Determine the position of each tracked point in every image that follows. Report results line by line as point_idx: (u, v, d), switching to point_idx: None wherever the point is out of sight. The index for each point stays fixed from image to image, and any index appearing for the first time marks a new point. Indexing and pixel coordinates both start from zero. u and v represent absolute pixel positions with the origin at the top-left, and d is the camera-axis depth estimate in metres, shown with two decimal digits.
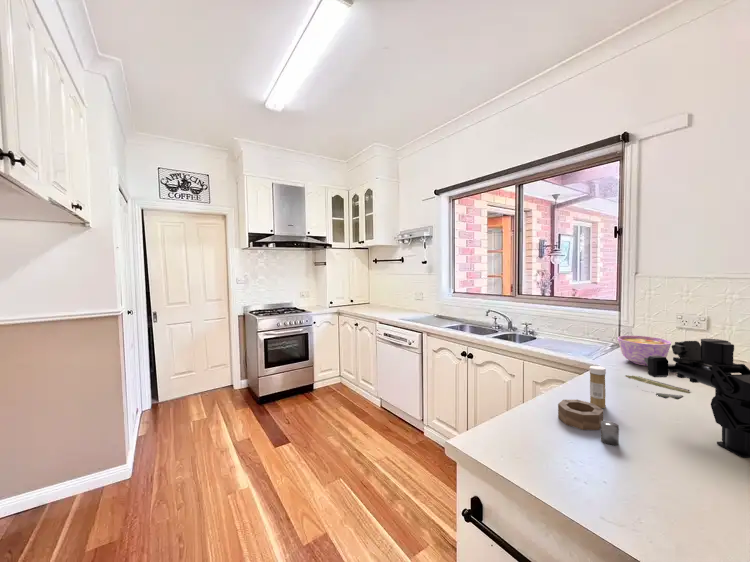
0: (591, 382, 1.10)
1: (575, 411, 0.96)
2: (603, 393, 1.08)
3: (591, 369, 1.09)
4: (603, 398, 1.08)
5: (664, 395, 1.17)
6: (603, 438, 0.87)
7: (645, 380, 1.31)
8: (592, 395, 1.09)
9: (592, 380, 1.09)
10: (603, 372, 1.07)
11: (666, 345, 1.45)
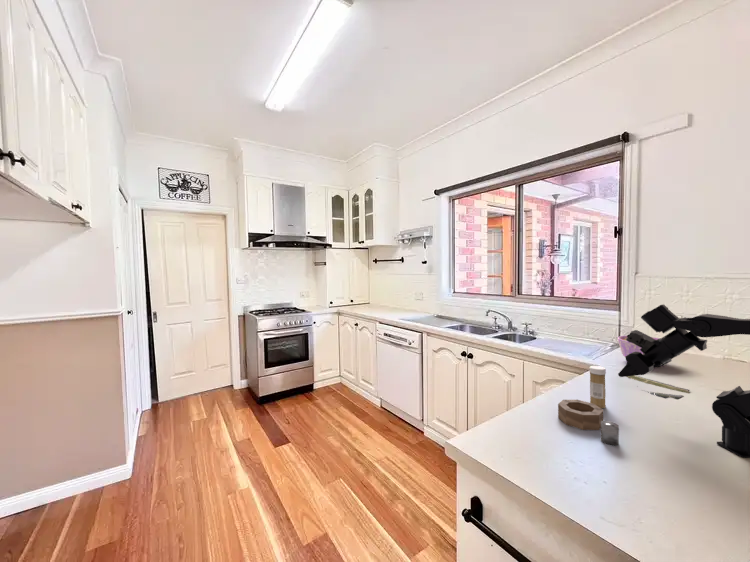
0: (591, 382, 1.10)
1: (575, 411, 0.96)
2: (603, 393, 1.08)
3: (591, 369, 1.09)
4: (603, 398, 1.08)
5: (664, 395, 1.17)
6: (603, 438, 0.87)
7: (645, 380, 1.31)
8: (592, 395, 1.09)
9: (592, 380, 1.09)
10: (603, 372, 1.07)
11: None
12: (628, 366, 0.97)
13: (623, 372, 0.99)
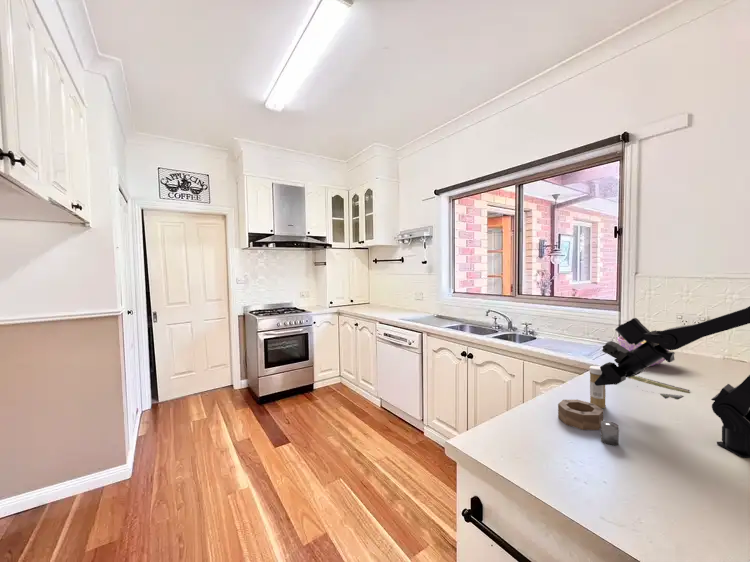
0: (591, 382, 1.10)
1: (575, 411, 0.96)
2: (603, 393, 1.08)
3: (591, 369, 1.09)
4: (603, 398, 1.08)
5: (664, 395, 1.17)
6: (603, 438, 0.87)
7: (645, 380, 1.31)
8: (592, 395, 1.09)
9: (592, 380, 1.09)
10: None
11: None
12: (603, 376, 1.03)
13: (599, 381, 1.04)
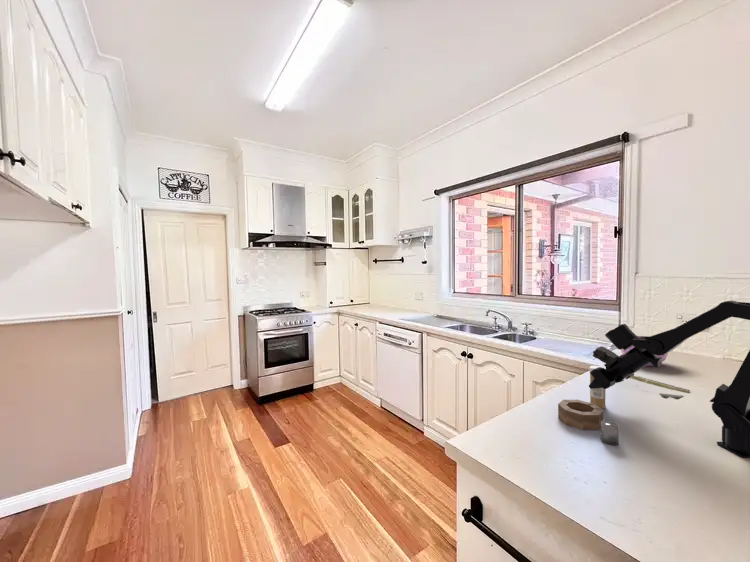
0: None
1: (575, 411, 0.96)
2: (603, 393, 1.08)
3: (591, 369, 1.09)
4: (603, 398, 1.08)
5: (664, 395, 1.17)
6: (603, 438, 0.87)
7: (645, 380, 1.31)
8: (592, 395, 1.09)
9: (592, 380, 1.09)
10: None
11: None
12: None
13: (592, 384, 1.08)
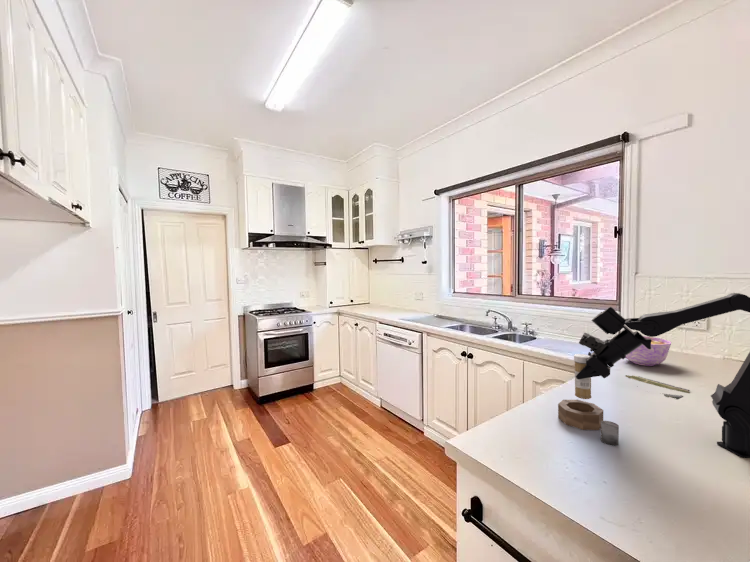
0: (578, 372, 1.02)
1: (575, 411, 0.96)
2: (590, 382, 1.01)
3: (578, 358, 1.01)
4: (590, 388, 1.01)
5: (664, 395, 1.17)
6: (603, 438, 0.87)
7: (645, 380, 1.31)
8: (579, 386, 1.01)
9: (579, 370, 1.01)
10: None
11: (666, 345, 1.45)
12: (587, 368, 0.98)
13: (581, 374, 1.00)
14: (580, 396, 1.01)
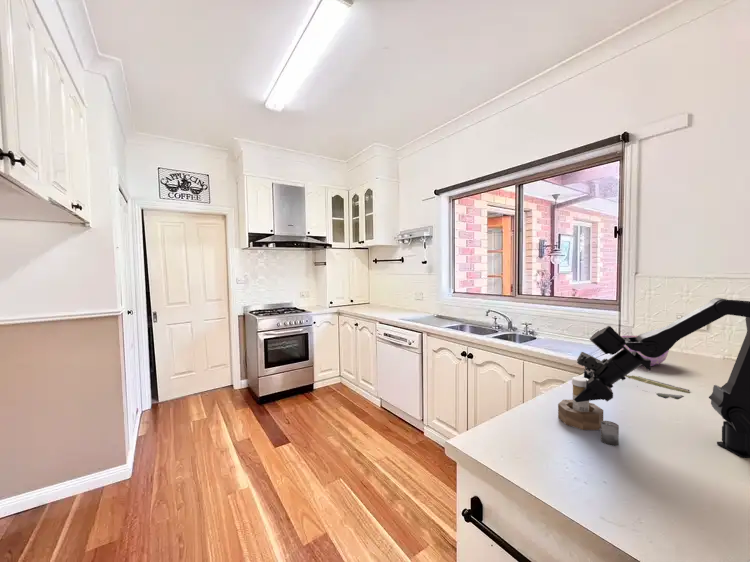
0: None
1: (575, 411, 0.96)
2: (588, 406, 0.98)
3: (577, 382, 0.98)
4: None
5: (664, 395, 1.17)
6: (603, 438, 0.87)
7: (645, 380, 1.31)
8: None
9: None
10: None
11: None
12: (586, 391, 0.94)
13: (580, 397, 0.95)
14: None
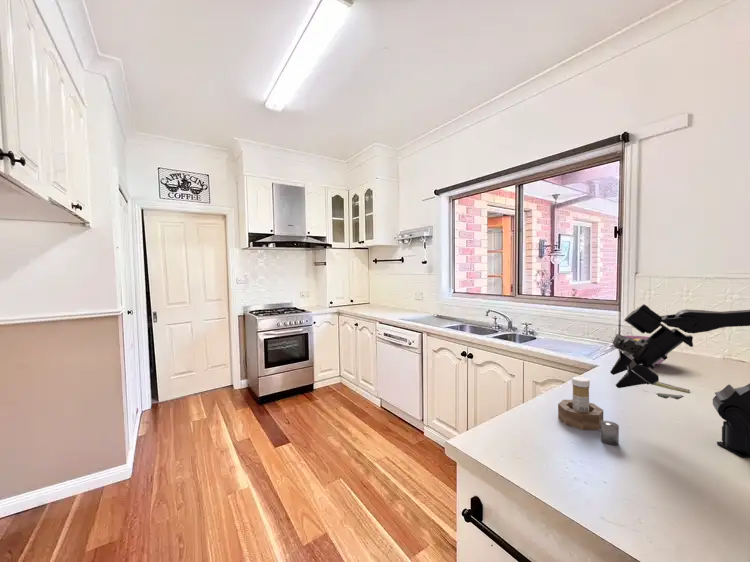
0: (576, 396, 0.98)
1: (575, 411, 0.96)
2: (588, 407, 0.98)
3: (577, 382, 0.98)
4: None
5: (664, 395, 1.17)
6: (603, 438, 0.87)
7: None
8: None
9: (578, 394, 0.98)
10: (589, 383, 0.97)
11: None
12: (629, 376, 0.90)
13: (622, 383, 0.92)
14: None
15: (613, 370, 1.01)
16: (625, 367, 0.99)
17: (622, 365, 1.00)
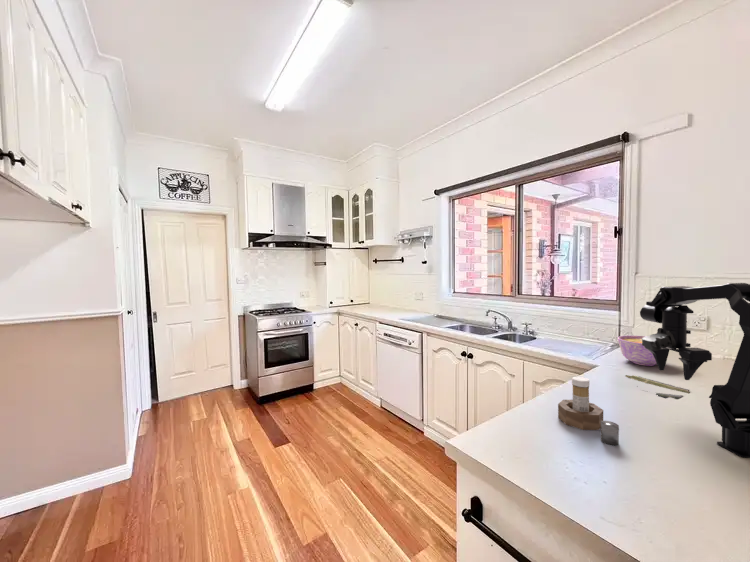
0: (576, 396, 0.98)
1: (575, 411, 0.96)
2: (588, 406, 0.98)
3: (577, 382, 0.98)
4: None
5: (664, 395, 1.17)
6: (603, 438, 0.87)
7: (645, 380, 1.31)
8: None
9: (578, 394, 0.98)
10: None
11: None
12: (688, 365, 0.95)
13: (689, 374, 0.96)
14: None
15: (660, 366, 1.06)
16: (664, 357, 1.06)
17: (661, 358, 1.06)
